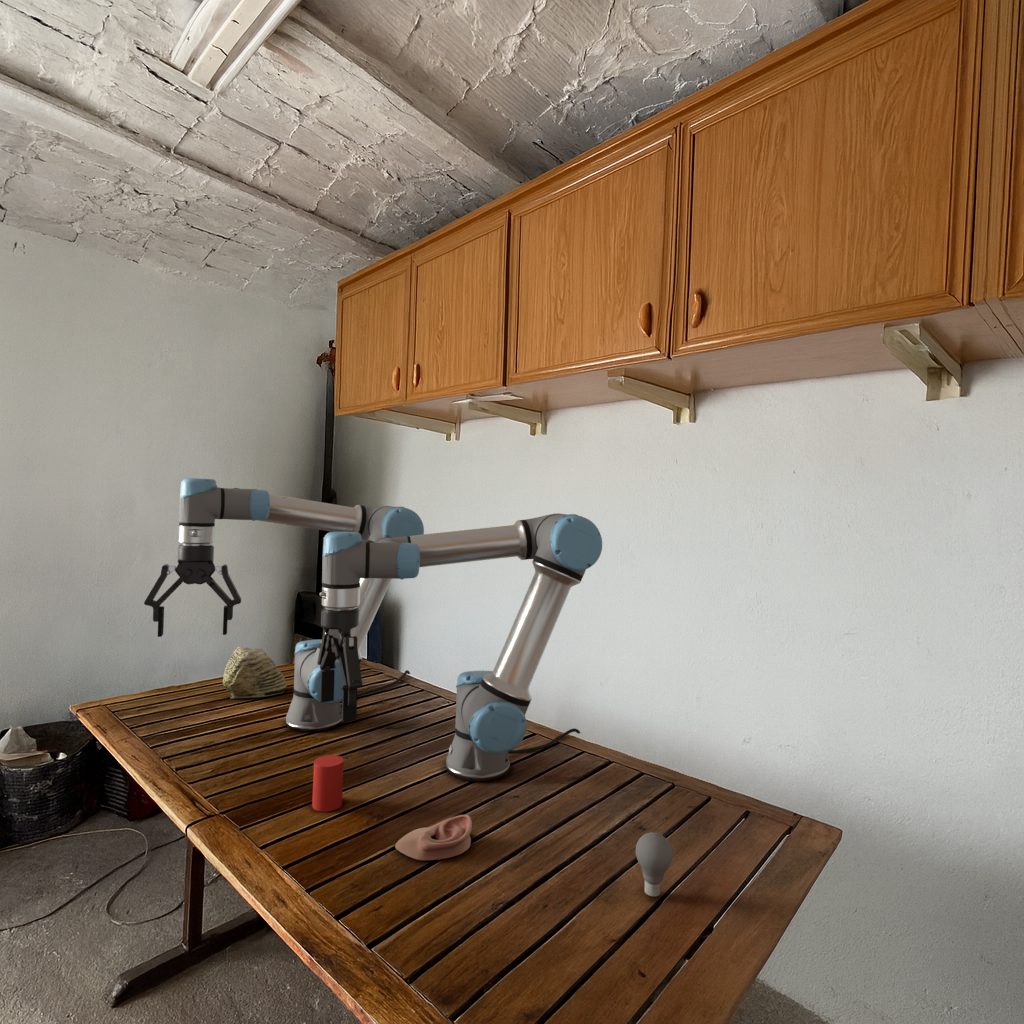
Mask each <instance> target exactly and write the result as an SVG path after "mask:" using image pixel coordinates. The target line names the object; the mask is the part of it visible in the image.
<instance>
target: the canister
mask: <svg viewBox="0 0 1024 1024" xmlns="http://www.w3.org/2000/svg"><path fill="white" fill-rule="evenodd" d="M344 759H345V758H344V757H342V756H341V755H336V754H326V755H321V756H318V757H316V758H315V759H314V761H313V775H312V776H313V778H312V779H313V780H312V799H311V800H312V801H311V802H312V803H311V807H312V809H313V810H315V811H317V812H321V813H325V812H326V813H327V812H333V811H336V810H337V809H339V808H340V807H341V806H342V805H343V784H344V783H343V782H344V763H345V761H344Z"/></svg>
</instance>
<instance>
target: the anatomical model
mask: <svg viewBox="0 0 1024 1024" xmlns="http://www.w3.org/2000/svg"><path fill="white" fill-rule="evenodd" d="M472 830H473V821H472V818H471V816H470V815H469V814H459V815H456V816H452V817H450V818H447V819H444V820H442V821H440V822H437V823H436V824H435V823H434V824H433V825H431V826H429V827H420V828H417V829H413V830H412V831H409V832H408V833H406V834H405V835H403V836H402V837H401V838H400V839H399V840H397V842H396V843H395V845H394V848H395V849H396V851H398V852H400V853H401V854H403V855H405V856H406V857H408V858H412V859H414V860H417V861H436V860H437V861H438V860H444V859H450V858H453V857H456V856H459V855H462V854H463V853H464V852H467V851H468V850H469V848H470V847H471V844H472V839H471V833H472Z"/></svg>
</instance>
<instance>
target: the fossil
mask: <svg viewBox="0 0 1024 1024" xmlns="http://www.w3.org/2000/svg"><path fill="white" fill-rule="evenodd" d="M222 676H223V677H222V685H223V687H224V688H225V690H226V691H228V693H229V698H230V699H250V698H264V697H271V696H275V695H281V694H284V693H285V691H286V689H287V687H288V686H287V680H286V678H285V676H284V674H283V673H282V672H281V669H279V668H278V667H277V665H276V663H275V662H274V660H273V659H272V658H271V657H270V656H269V655H268V654H267V653H266V652H265V650H264V649H263V648H260V647H258V648H251V647H247V646H246V647H245V646H238V647H237V648H236V649H235V650H233V651H232V653H231V656H230V657H229V659H228V660H227V663H226V666H225V668H224V671H223V675H222Z"/></svg>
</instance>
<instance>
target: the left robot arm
mask: <svg viewBox="0 0 1024 1024" xmlns="http://www.w3.org/2000/svg"><path fill="white" fill-rule="evenodd" d="M179 490H180V491H179V509H178V511H179V514H178V519H179V520H178V538H177V539H178V541H177V542H178V543H180V544H179V546H177V563H176V565H170V564H168V563H165V564H163V565H162V566H161V571H160V575H159V576H158V578H157V580H156V582H155V583H154V585H153V587H152V588H151V590H150V591H149V593H148V595H147V596H146V599H145V600H144V602H143V605H145V606H147V607H148V606H149V607H151V608H152V621H153V623H157V638H162V636H163V635H164V624H165V606H161V605H162V604H163V603H164V602H165V601H166V600H167V599H168V598H169V597H170V596H171V595H172V594H173V593H174V592H175V591H176V590H177V589H178V588H179V587H180V586H181V585H182V584H183V583H184V584H186V585H195V584H196V585H203V584H207V586H209V588H211V589H212V591H213V592H214V593H215V594H216V595H217V596H218V597H219V598H220V600H222V601H223V603H224V604H225V605H224V606H223V618H222V619H223V620H222V635H223V636H227V634H228V621H232V620H233V617H234V607H235V606H236V605H240V604H241V603H242V596H241V595H240V593H239V591H238V590H237V588H236V586H235V584H234V582H233V580H232V577H231V576H230V574H229V566H228V564H223V565H215V563H214V557H215V555H214V554H215V547H214V545H213V544H214V543H215V531H216V529H215V528H216V526H215V525H216V523H215V521H216V520H232V521H233V520H235V521H237V520H238V521H253V522H255V521H258V522H264V523H265V522H266V523H273V524H279V525H286V526H293V527H299V528H307V529H311V530H313V529H314V530H319V531H325V532H326V531H327V532H357V533H360V534H361V539H362V541H364V542H370V543H373V542H376V541H377V540H379V539H381V538H384V537H392V538H395V537H406V536H413V535H423V534H425V526H424V522H423V520H422V518H421V517H420V516H419V514H418V513H417V512H416V511H414V510H412V509H410V508H408V507H404V506H392V505H381V506H380V505H377V506H375V505H374V506H373V505H372V506H371V505H362V504H356V505H355V506H353V507H352V506H346V505H341V504H334V503H330V502H329V503H328V502H322V501H317V500H316V501H315V500H309V499H304V498H298V497H291V496H285V495H281V494H280V495H279V494H274V493H269V492H268V491H267V490H265V489H257V488H239V487H233V488H225V487H218V486H217V481H216V479H214V478H198V477H197V478H196V477H186V478H184V479H182V481H180V489H179ZM173 572H175V573H176V575H177V576H178V578H177V579H176V581H174V582H173V583H172V584H171V586H170V587H169V588H168V589H167V590H166V591H165V592H164V593H163V594H162V595H161V596H160V597H159V598H158V599H157V600H154V599H155V598H156V596H157V595H158V593H159V591H160V589H161V587H162V586H163V584H164V582H165V581H166V579H167V578H168V576H169V575H171V574H172V573H173ZM215 572H217V574H219V575H220V576H222V578H223V581H224V582H225V585H226V586H227V588H228V590H229V593H230V595H231V597H232V598H231V597H230V596H229V595H228V594H227V593H226V592H225V591H224V590H223V588H222V587H221V586H220V585H219V584H218V583H217V582H216V581H215V579H214V578H213V577H212V575H213V574H214V573H215ZM391 582H392V579H388V578H368V579H365V578H361V579H360V604H359V606H357V608H358V609H359V625H358V626H357V627H355V628H352V629H351V630H350V632H351V637H354V636H357V648H358V656H359V663H360V664H361V662H362V660H363V656H362V653H361V648H362V646H363V643H364V642H365V639H366V636H367V635H368V632H369V631H370V628H371V626H372V623H373V622H374V619H375V617H376V615H377V613H378V610H379V608H380V606H381V604H382V601H383V599H384V597H385V595H386V593H387V591H388V588H389V586H390V584H391ZM321 642H322V638H321V639H307V640H302V641H299V642H297V643H296V644H295V650H294V672H293V673H294V674H293V695H292V696H293V697H292V699H291V702H290V704H289V708H288V711H287V713H286V715H285V726H286V728H287V729H289V730H291V731H294V732H295V731H296V732H301V733H316V732H325V731H329V730H332V729H335V728H337V727H339V726H340V725H342V723H343V722H342V704H341V703H342V690H341V688H342V686H344V682H343V677H342V672H341V667H340V663H339V659H337V658H336V661H335V666H336V667H335V668H334V669H331V670H335V675H334V701H328V702H320V689H321V671H322V670H321V669H320V665H318V663H317V661H318V657H319V652H320V647H321ZM322 659H323V658H322ZM407 675H411V672H410V670H409V669H408V670H405V671H404V672H403V673H402V675H400V676H399V677H398V678H397V679H395V680H394V681H392V682H389V683H387V684H384V685H382V686H379V687H375V688H372V689H367V690H365V691H362V692H357V698H359V697H361V696H365V695H368V694H372V693H375V692H379V691H381V690H384V689H387V688H390V687H393V686H395V685H396V684H398V683H400V682H401V681H402V680H403V679H404V678H405V677H406V676H407ZM352 682H353V681H352Z"/></svg>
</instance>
